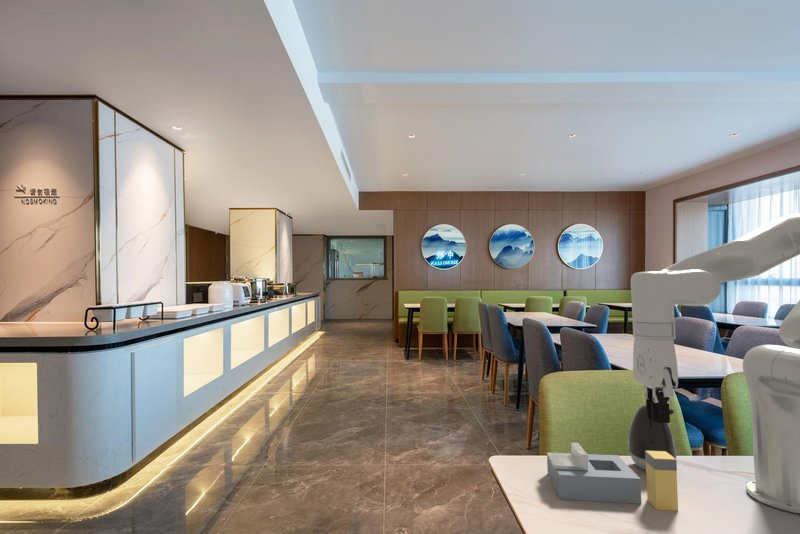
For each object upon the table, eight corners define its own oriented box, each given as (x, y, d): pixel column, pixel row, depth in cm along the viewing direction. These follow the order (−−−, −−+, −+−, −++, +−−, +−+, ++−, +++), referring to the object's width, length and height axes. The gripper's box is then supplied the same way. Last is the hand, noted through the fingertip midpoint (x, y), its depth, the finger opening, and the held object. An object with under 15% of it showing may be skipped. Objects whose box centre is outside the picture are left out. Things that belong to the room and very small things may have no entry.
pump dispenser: (686, 479, 95) (683, 412, 96) (636, 475, 98) (634, 410, 98) (667, 461, 105) (664, 400, 106) (622, 458, 108) (620, 398, 108)
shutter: (578, 457, 96) (578, 442, 96) (588, 470, 89) (587, 454, 89) (547, 456, 97) (546, 441, 97) (554, 469, 90) (553, 453, 90)
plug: (668, 500, 86) (666, 451, 87) (678, 511, 82) (676, 459, 83) (647, 499, 87) (645, 450, 87) (656, 509, 83) (654, 458, 83)
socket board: (618, 477, 97) (617, 455, 97) (641, 503, 85) (640, 478, 85) (547, 473, 99) (546, 452, 99) (560, 499, 87) (559, 474, 87)
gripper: (620, 327, 95) (624, 409, 94) (651, 335, 79) (656, 433, 78) (655, 327, 94) (659, 409, 93) (694, 334, 78) (699, 434, 77)
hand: (658, 420), depth 86 cm, fingers closed
